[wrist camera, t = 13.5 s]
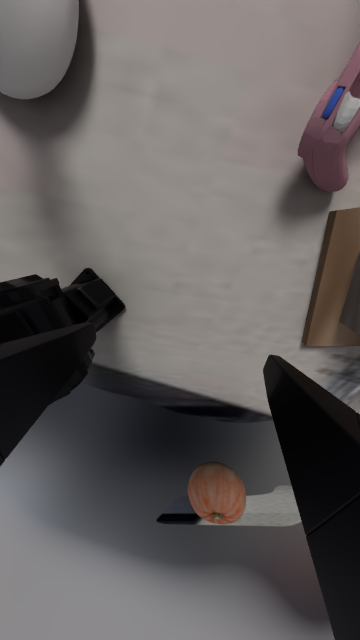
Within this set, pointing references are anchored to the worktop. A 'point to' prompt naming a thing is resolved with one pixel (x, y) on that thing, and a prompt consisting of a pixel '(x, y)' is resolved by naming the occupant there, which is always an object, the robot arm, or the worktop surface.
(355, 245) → the holder
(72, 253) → the worktop surface
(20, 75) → the flower in vase
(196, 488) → the pumpkin
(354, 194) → the worktop surface
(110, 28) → the worktop surface
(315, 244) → the worktop surface
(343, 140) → the video game controller
